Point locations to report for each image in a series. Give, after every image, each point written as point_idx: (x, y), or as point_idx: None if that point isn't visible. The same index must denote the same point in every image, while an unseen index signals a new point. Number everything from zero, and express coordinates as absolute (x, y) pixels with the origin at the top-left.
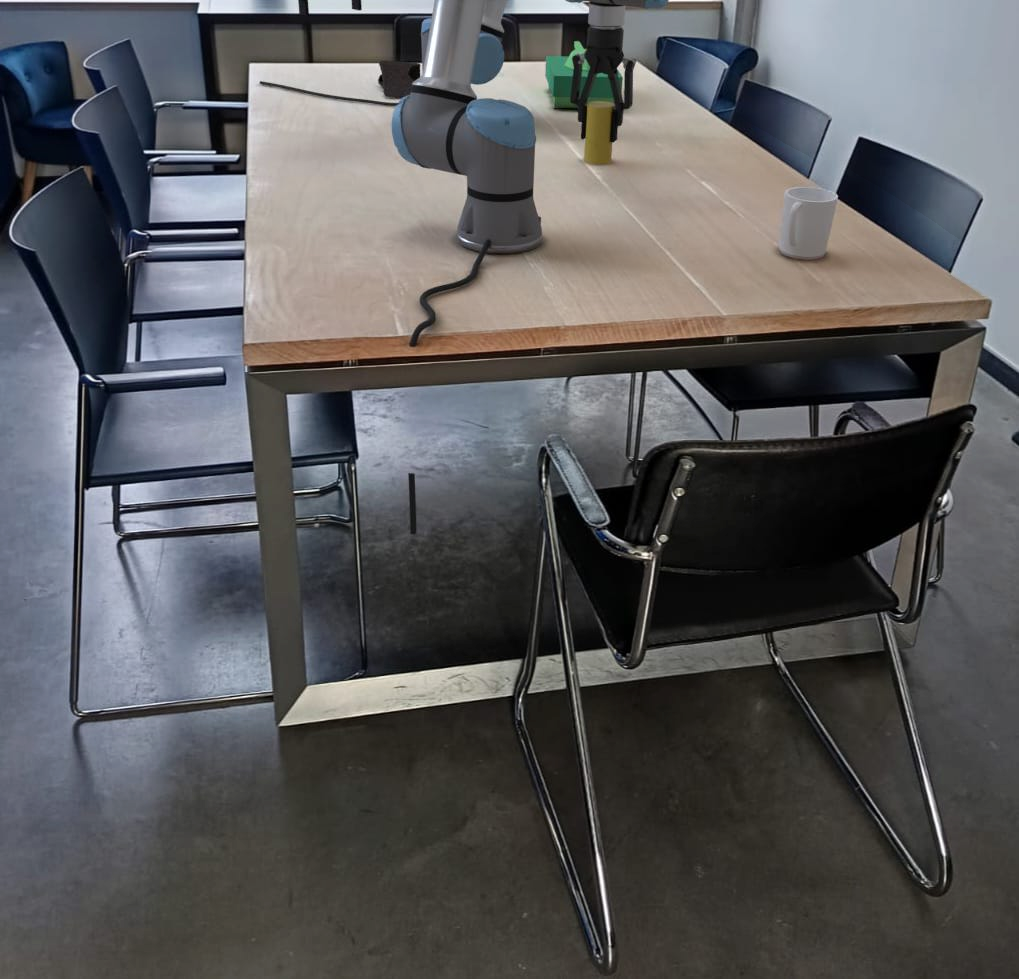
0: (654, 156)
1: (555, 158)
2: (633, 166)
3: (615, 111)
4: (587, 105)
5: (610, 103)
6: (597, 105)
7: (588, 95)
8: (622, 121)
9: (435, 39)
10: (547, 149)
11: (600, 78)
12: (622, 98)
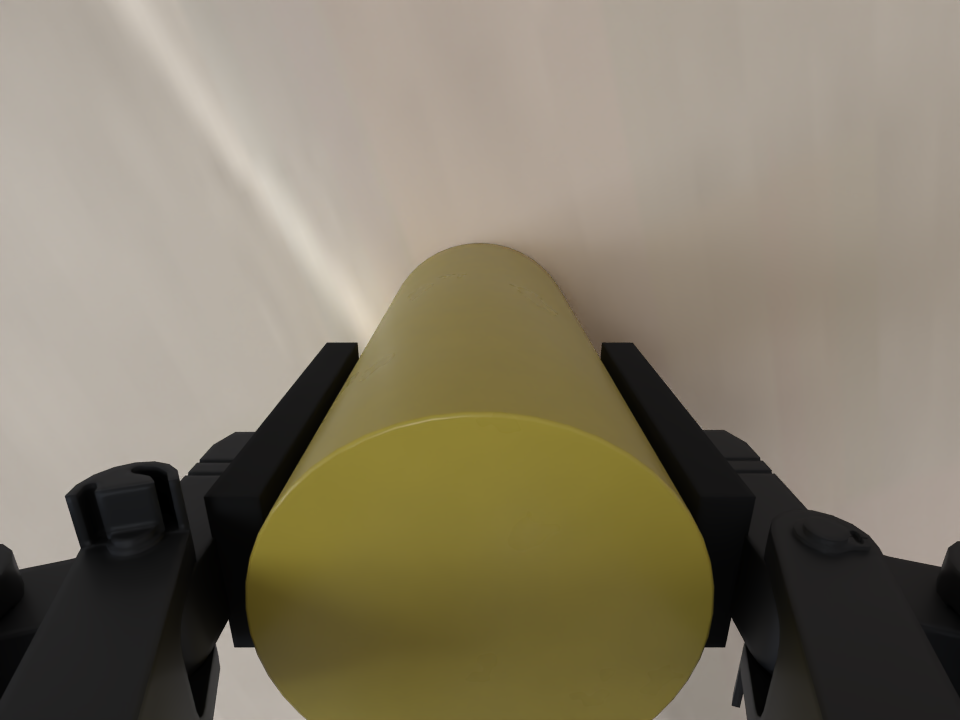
0: (862, 2)
1: (212, 385)
2: (729, 352)
3: (721, 636)
4: (291, 685)
5: (614, 508)
6: (453, 707)
7: (171, 705)
8: (752, 458)
9: None
10: (36, 186)
11: None
12: (930, 662)
